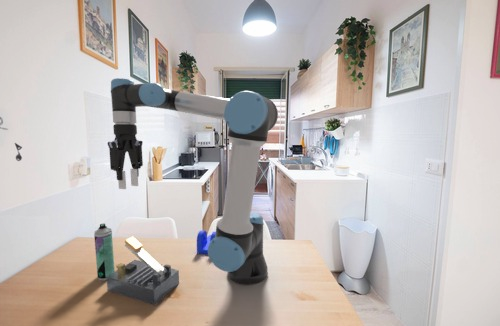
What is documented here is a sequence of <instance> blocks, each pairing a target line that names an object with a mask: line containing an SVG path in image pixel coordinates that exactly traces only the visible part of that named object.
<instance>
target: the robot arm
mask: <svg viewBox="0 0 500 326" xmlns="http://www.w3.org/2000/svg"><path fill="white" fill-rule="evenodd" d="M110 94H111V95H110V96H111V109H112V121H113V122H112V123H114V125H113V127H112V128H113V134H114V136H115V137H114V140H112V141H108V142H107V146H108V149H109V150H108V151H109V164H110V171H114V172H116V173H115V174H116V180H117V181H118V189H119V190H126V189H127V183H126V182H127V179H126V171H125V170H124V166H125V165H124V164H125V158H126V154H128V156H129V161H130V163H131V168H130V171H129V172H130V183H131V184H130V185H131V186H132V187H139V172H140V169H141V167H143V165H144V161H143V160H144V159H143V141H142V140H138V139H137V134H138V128H137V111H136V110H137V108H138V107H148V108H155V109H164V110H170V111H174V112H182V113H188V114H191V115H197V116H202V117H207V118H212V119H218V120H223V121H225V123H226V125H227V127H228V130H227V138H228V139H229V140H230V142H231V150H230V156H229V157H230V158H229V164H228V165H229V166H228V172H227V179H226V186H225V187H226V188H225V194H224V195H225V196H224V201H223V202H224V203H223V211H222V218H220V219H219V220H217V222H216V228H215V232H216V234H215V238H213V239H212V240H211V242H210V243H209V245H208V254H207V255H208V258H209V261H210V262H212V263H213V266H215V267H216V269H219V270H221V271H223V272H225V273H227V277H228V278H229V279H230V280H231V281H233V282H235V283H237V284H240V285H241V284H242V285H254V284H258V283H261V282H263V281H264V280H266V278H267V276H268V265H267V261H266V259H265V256H264V218H263V217H264V216H262V214H260V213H256V212H252V208H253V207H252V206H253V200H254V193H255V186H256V181H257V180H256V179H257V173H258V169H259V168H258V167H259V160H260V154H261V153H260V152H261V148H262V147H263V145H265V144H266V143H267V142H268V134H269V131H271V130H272V129H273V128H274V127H275V125H276V124H277V122H278V117H279V112H278V108H277V106H276V104H275V103H274V102H273V100H271V99H270V98H268V97H265V96H263V95H261V94H260V93H258V92H256V91H252V90H251V91H250V90H242V91H239V92H236V93H234V94H233V95H232V96H231V97H230V98H224V97H217V96H211V95H206V94H198V93H193V92H186V91H185V92H184V91H180V90H174V89H168V88H164V87H162V86H161V84H159V83H157V82H146V83H138V84H137V83H136V84H135V82H134V81H133V80H132V79H128V78H122V77H121V78H113V79H112V80H111V81H110ZM136 107H137V108H136Z"/></svg>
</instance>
